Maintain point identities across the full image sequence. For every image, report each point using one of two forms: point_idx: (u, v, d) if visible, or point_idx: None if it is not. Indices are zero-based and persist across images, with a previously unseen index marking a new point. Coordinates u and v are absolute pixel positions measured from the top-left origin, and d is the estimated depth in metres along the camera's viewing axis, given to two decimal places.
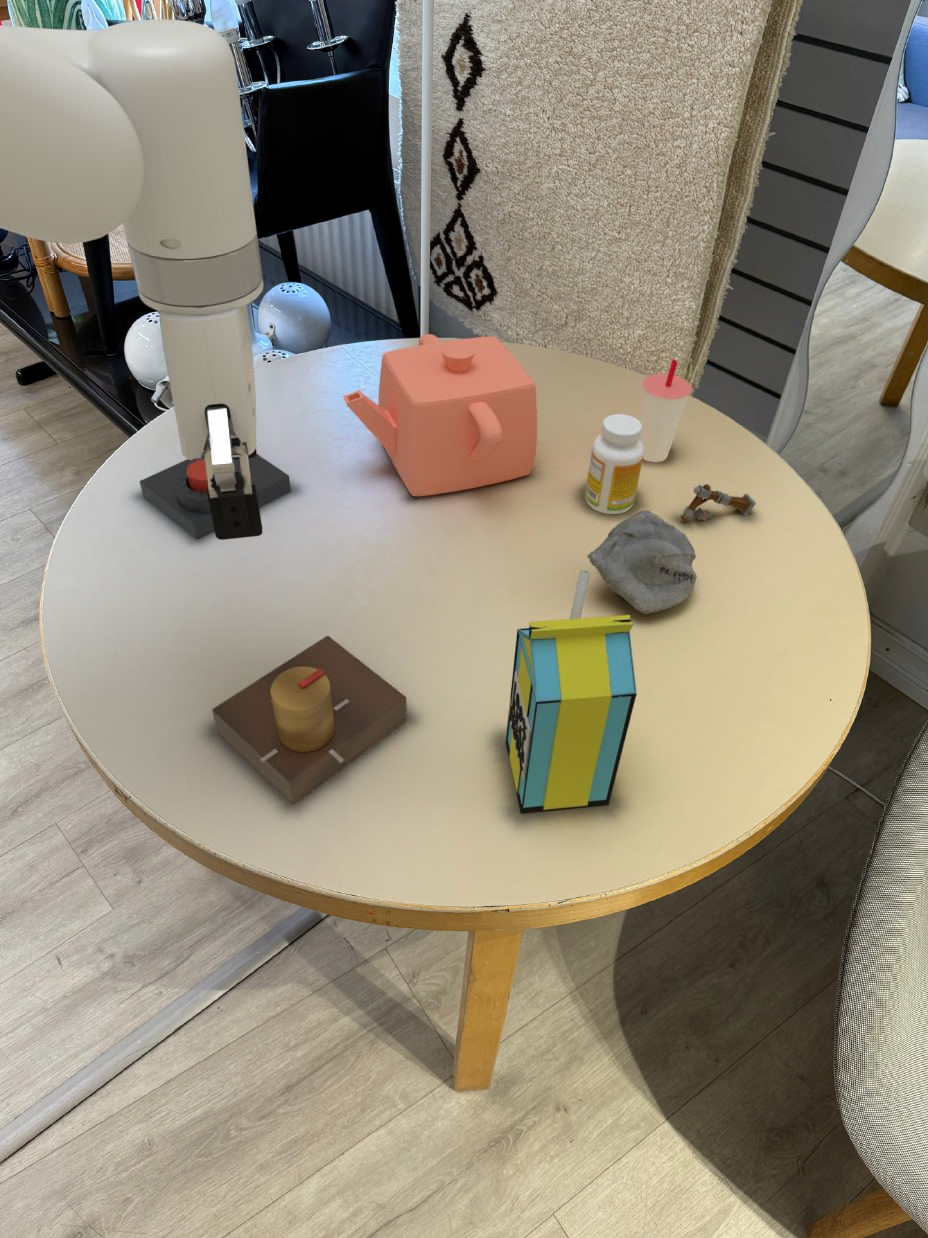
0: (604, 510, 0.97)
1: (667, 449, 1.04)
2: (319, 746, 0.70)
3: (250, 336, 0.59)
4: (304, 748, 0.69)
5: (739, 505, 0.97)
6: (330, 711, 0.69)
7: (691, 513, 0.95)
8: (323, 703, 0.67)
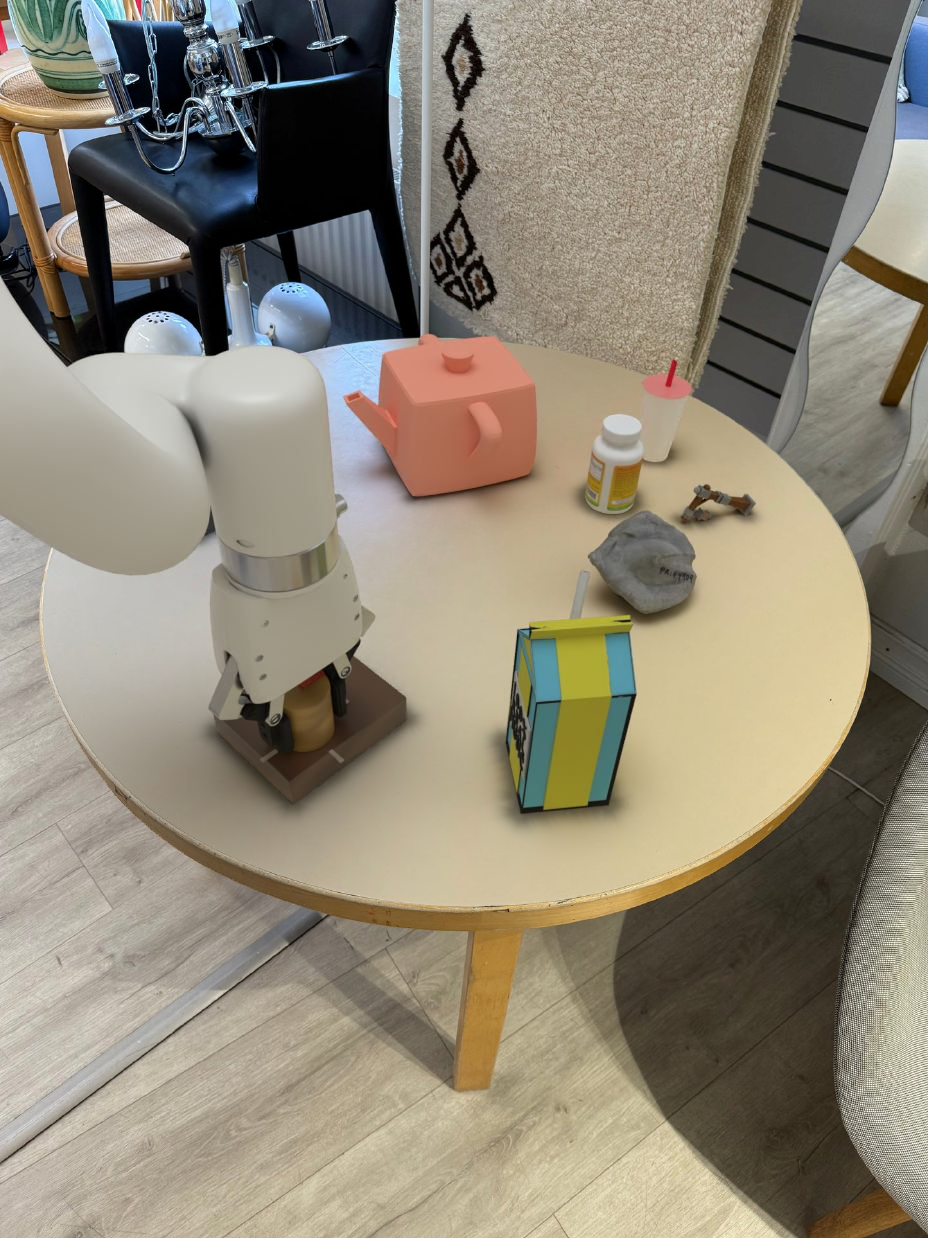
0: (604, 510, 0.97)
1: (667, 449, 1.04)
2: (319, 746, 0.70)
3: (309, 616, 0.60)
4: (304, 748, 0.69)
5: (739, 505, 0.97)
6: (330, 711, 0.69)
7: (691, 513, 0.95)
8: (323, 703, 0.67)
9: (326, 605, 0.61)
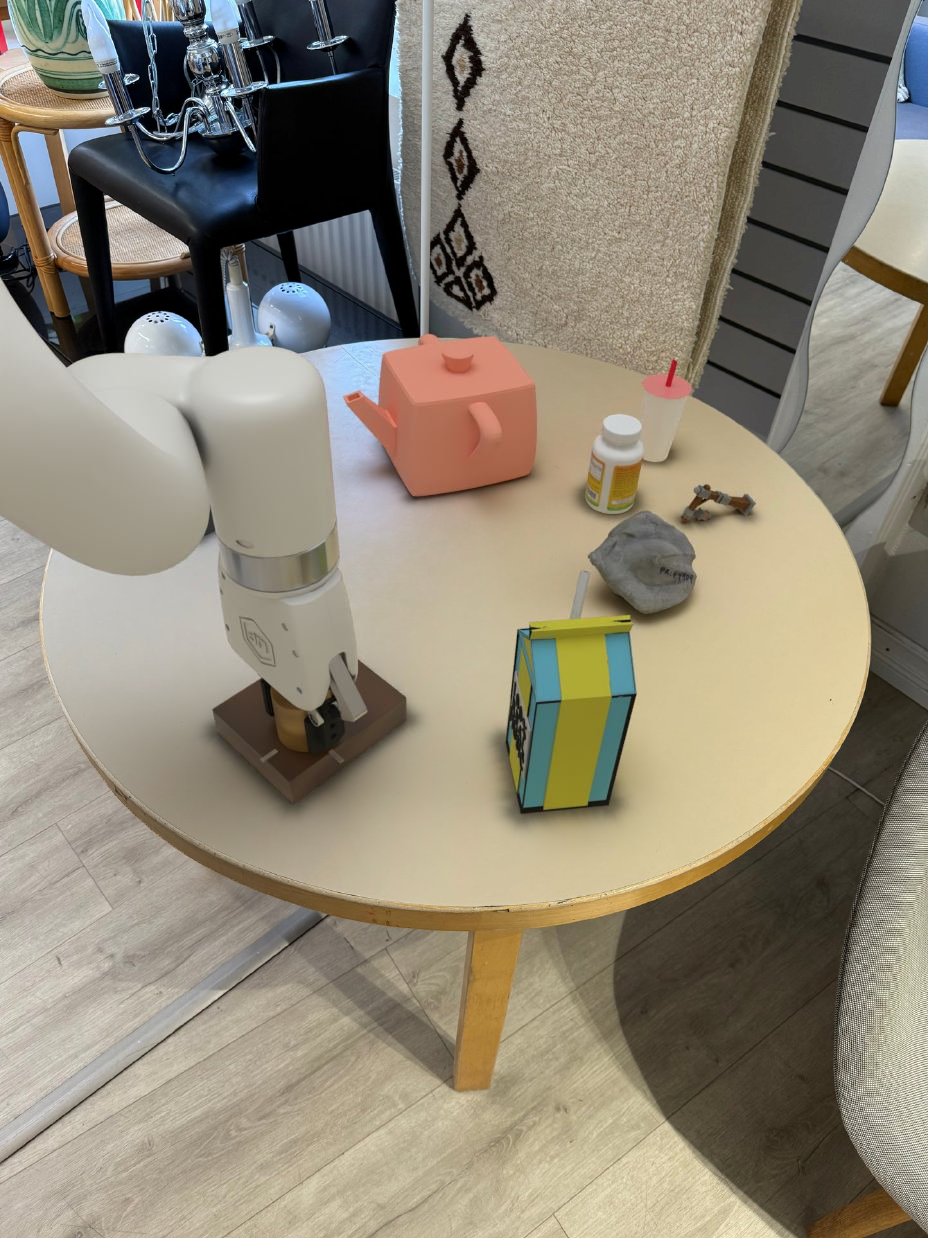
0: (604, 510, 0.97)
1: (667, 449, 1.04)
2: None
3: None
4: None
5: (739, 505, 0.97)
6: None
7: (691, 513, 0.95)
8: None
9: None
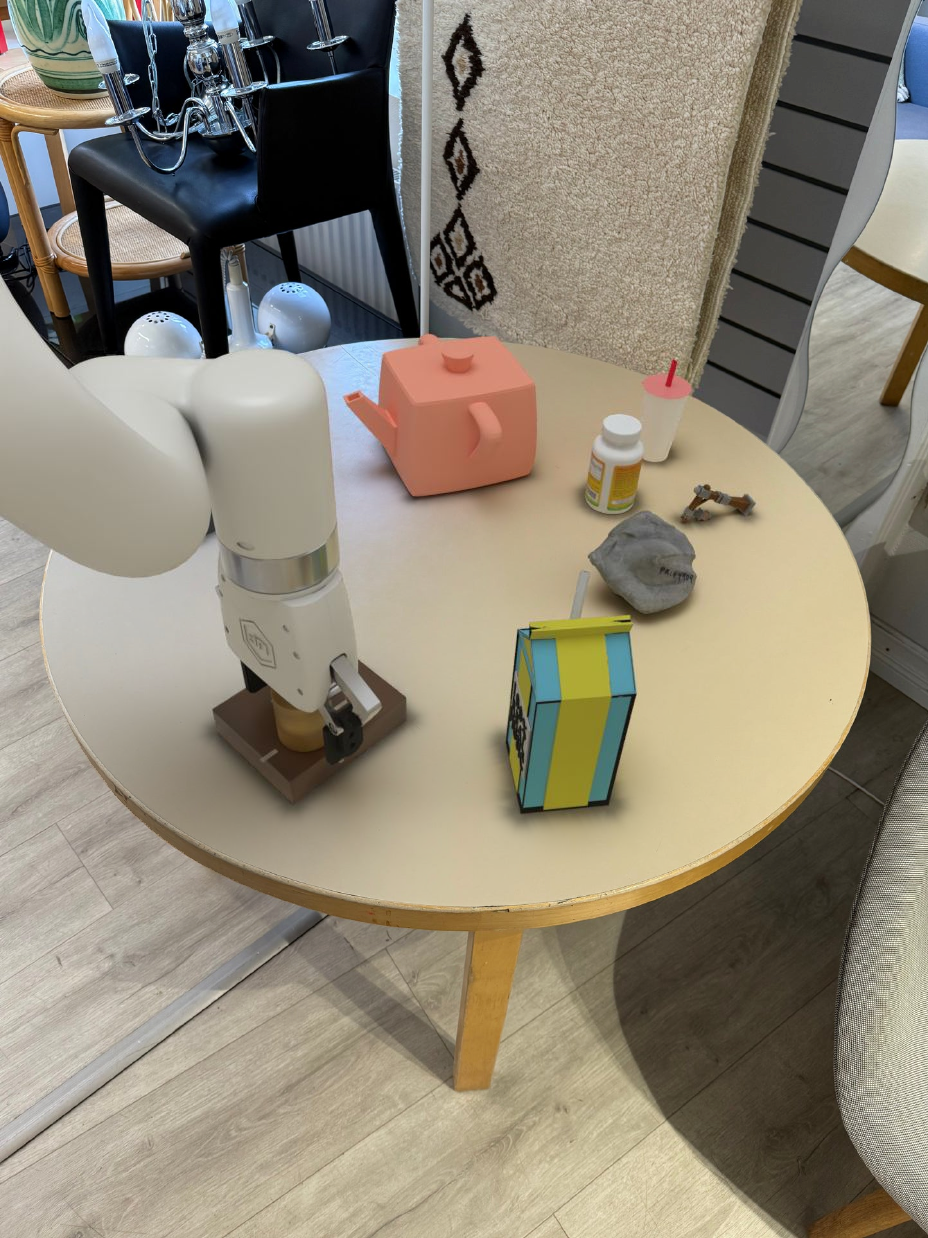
0: (604, 510, 0.97)
1: (667, 449, 1.04)
2: None
3: None
4: None
5: (739, 505, 0.97)
6: None
7: (691, 513, 0.95)
8: None
9: None
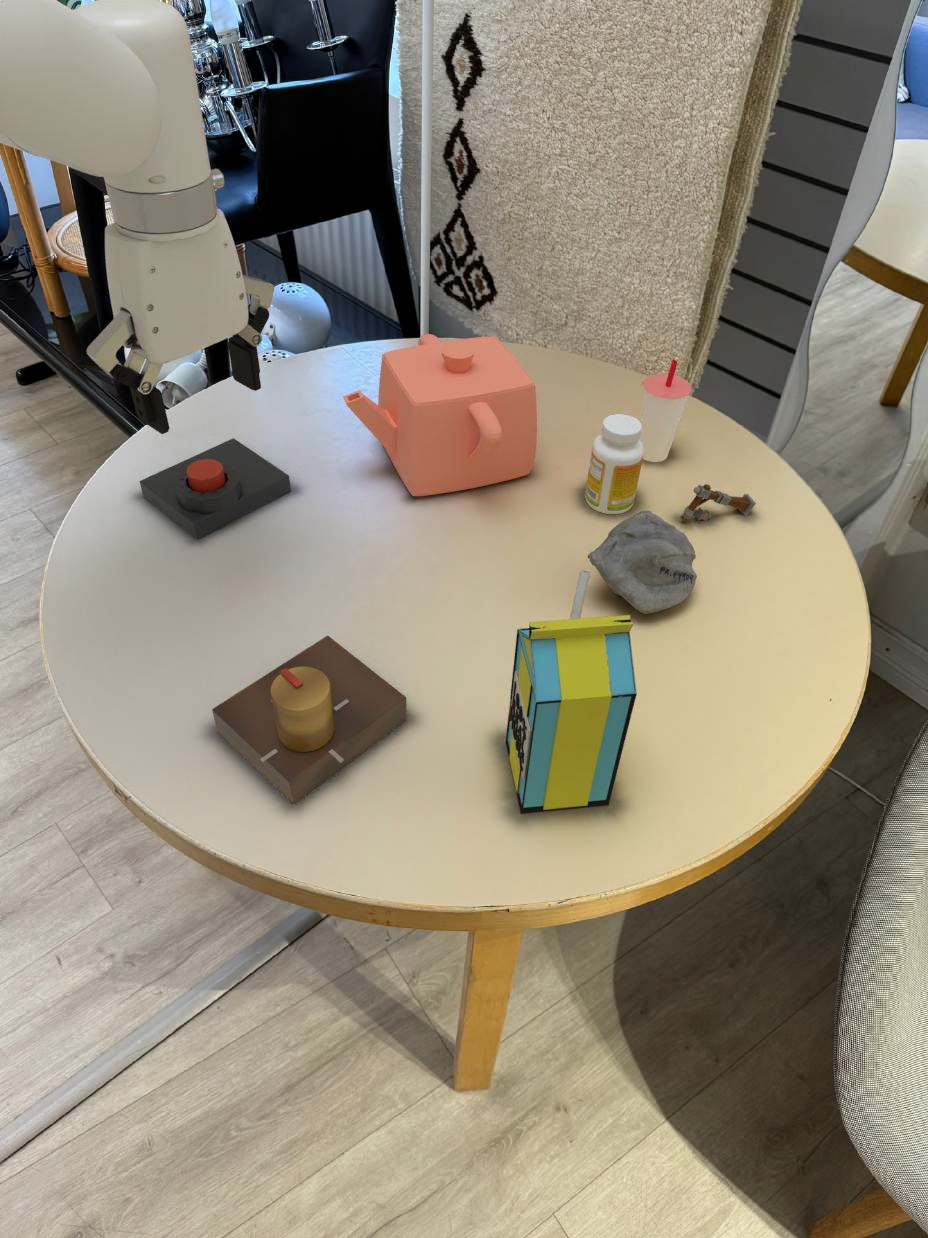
0: (604, 510, 0.97)
1: (667, 449, 1.04)
2: None
3: (194, 275, 0.69)
4: None
5: (739, 505, 0.97)
6: None
7: (691, 513, 0.95)
8: (320, 672, 0.69)
9: (209, 269, 0.70)
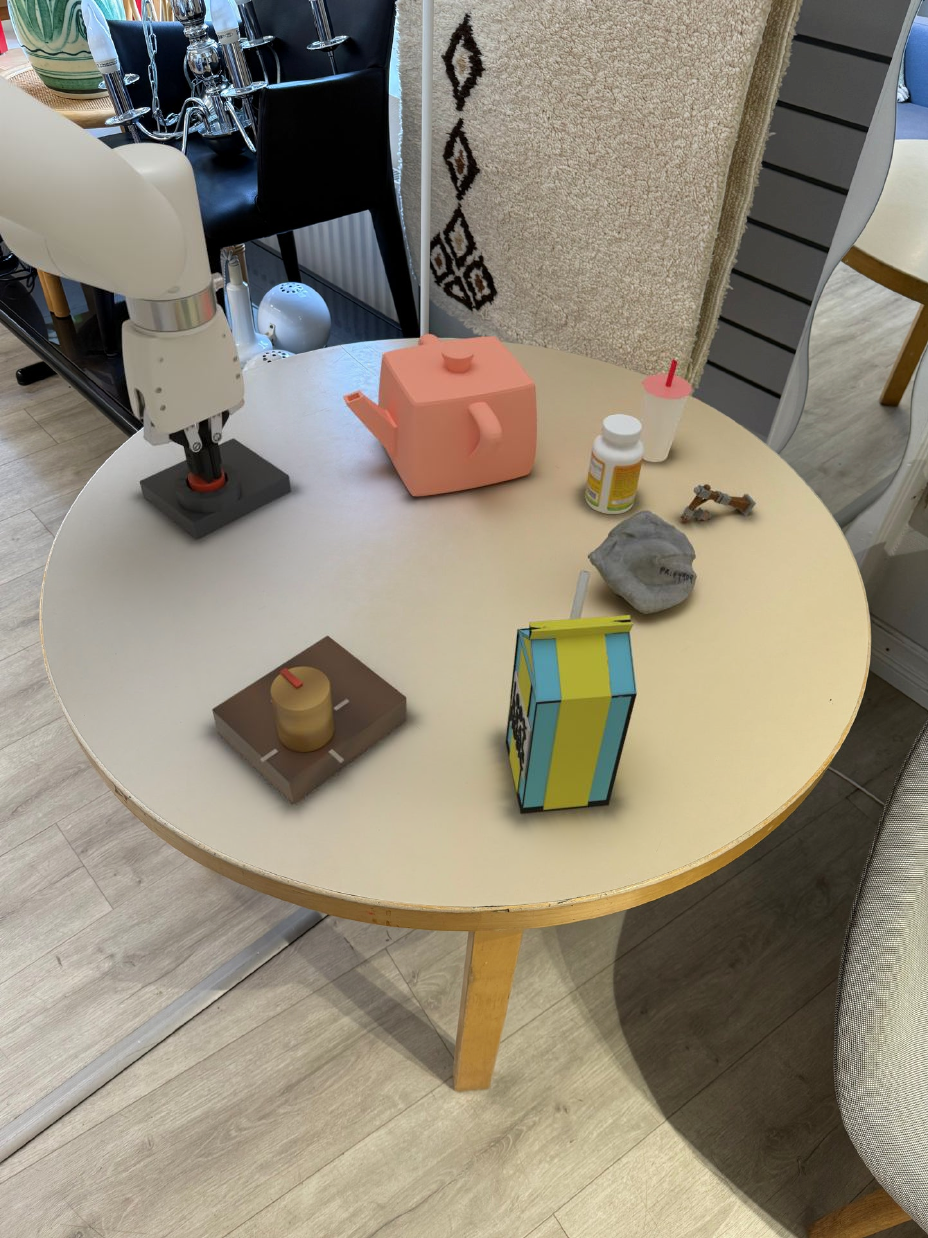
0: (604, 510, 0.97)
1: (667, 449, 1.04)
2: None
3: (196, 362, 0.82)
4: None
5: (739, 505, 0.97)
6: None
7: (691, 513, 0.95)
8: (320, 672, 0.69)
9: (209, 356, 0.82)
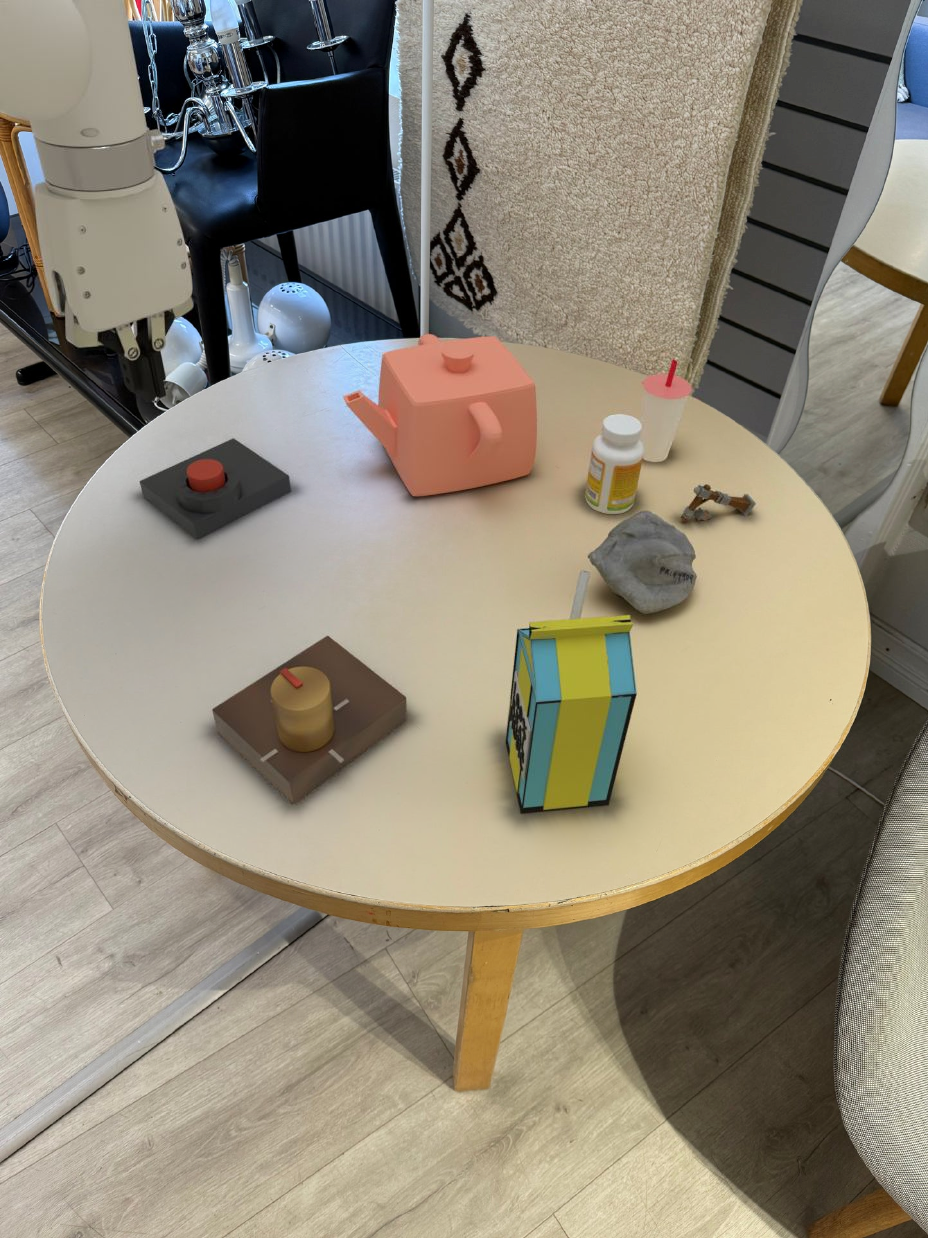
0: (604, 510, 0.97)
1: (667, 449, 1.04)
2: None
3: (129, 239, 0.66)
4: None
5: (739, 505, 0.97)
6: None
7: (691, 513, 0.95)
8: (320, 672, 0.69)
9: (146, 233, 0.67)
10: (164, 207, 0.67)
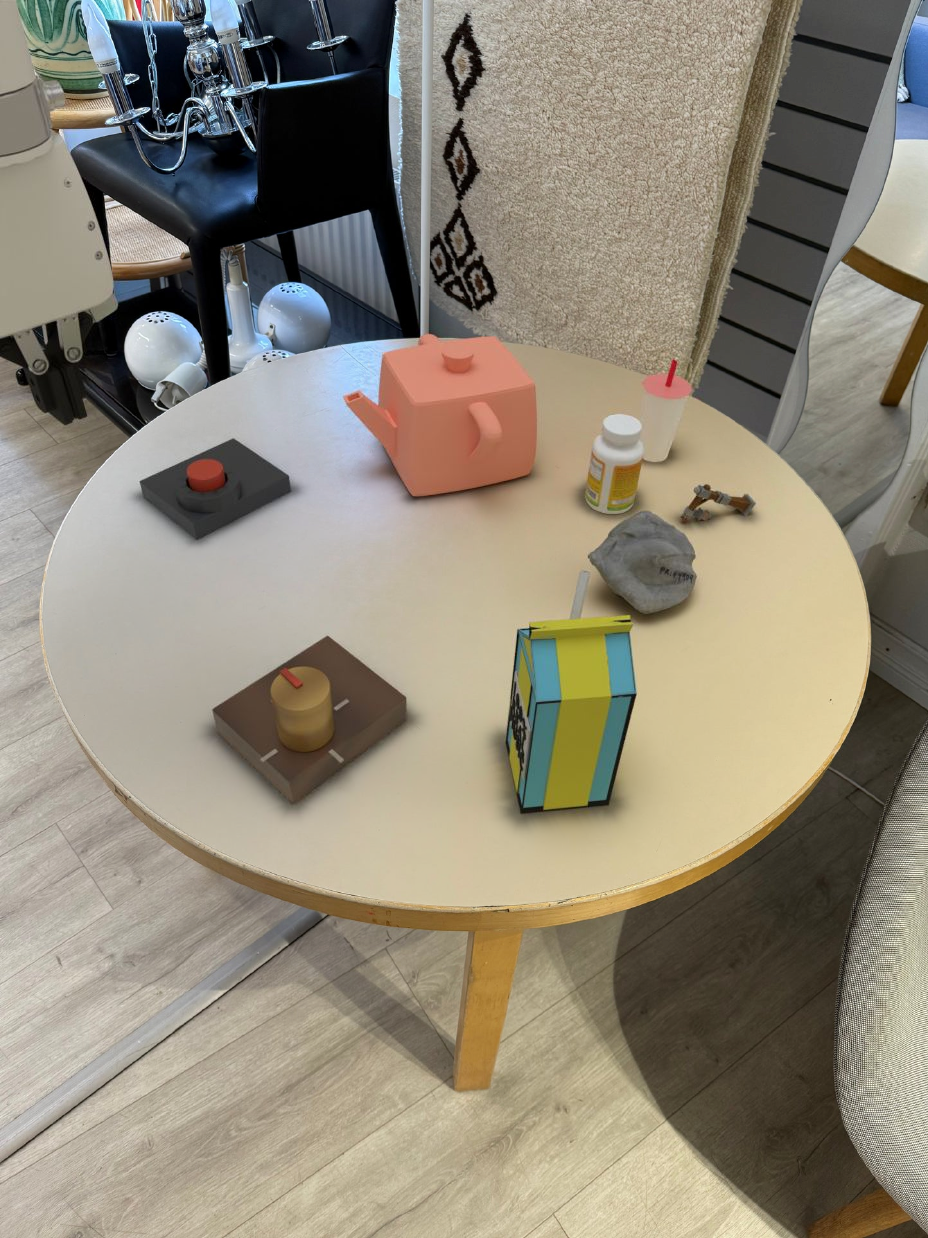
0: (604, 510, 0.97)
1: (667, 449, 1.04)
2: None
3: (20, 222, 0.51)
4: None
5: (739, 505, 0.97)
6: None
7: (691, 513, 0.95)
8: (320, 672, 0.69)
9: (44, 215, 0.52)
10: (67, 181, 0.52)
